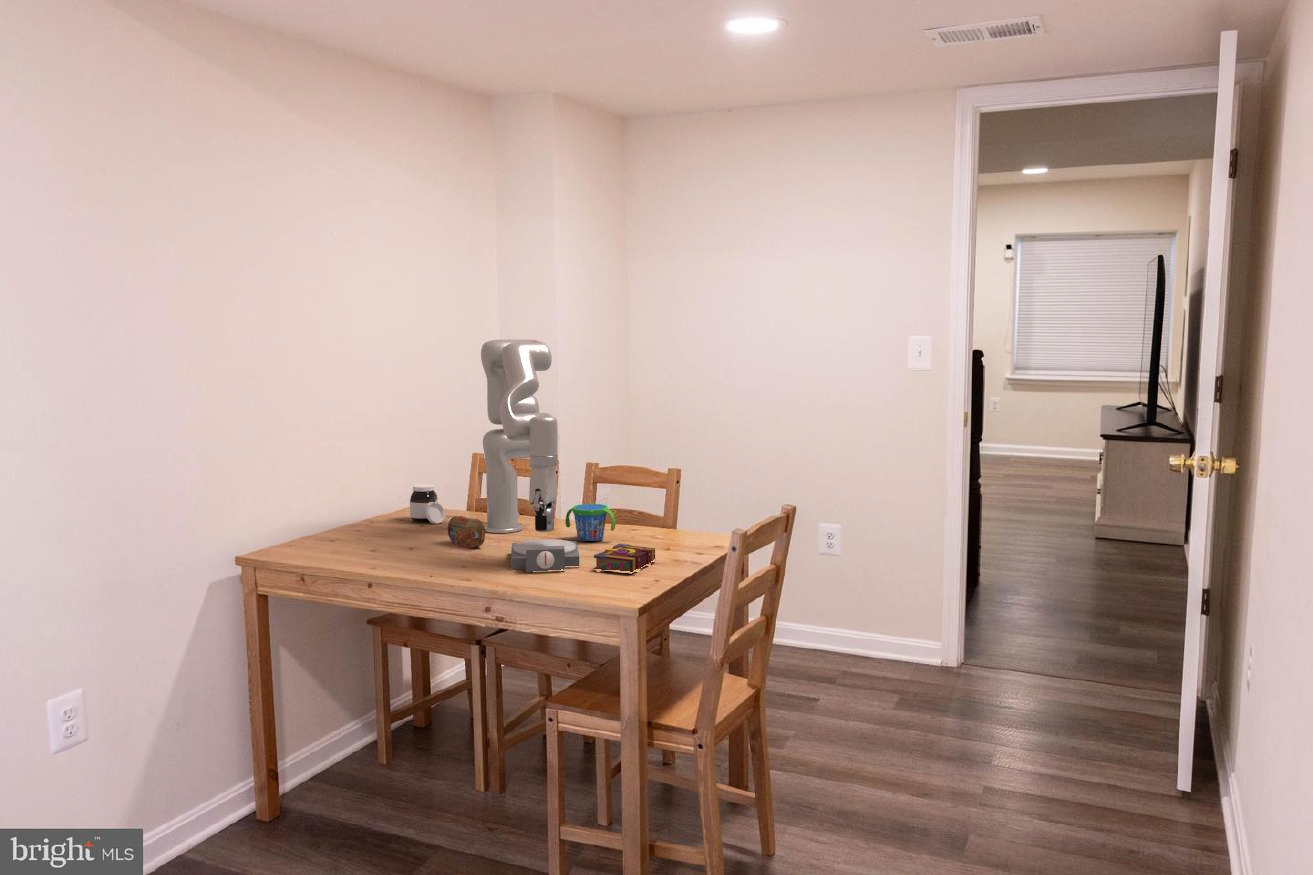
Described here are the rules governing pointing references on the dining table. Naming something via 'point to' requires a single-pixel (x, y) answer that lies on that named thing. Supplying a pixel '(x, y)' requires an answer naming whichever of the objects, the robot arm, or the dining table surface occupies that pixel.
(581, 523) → the snack cup
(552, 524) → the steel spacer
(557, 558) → the scale
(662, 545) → the dining table surface
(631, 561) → the decorative book
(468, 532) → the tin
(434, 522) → the spread jar
